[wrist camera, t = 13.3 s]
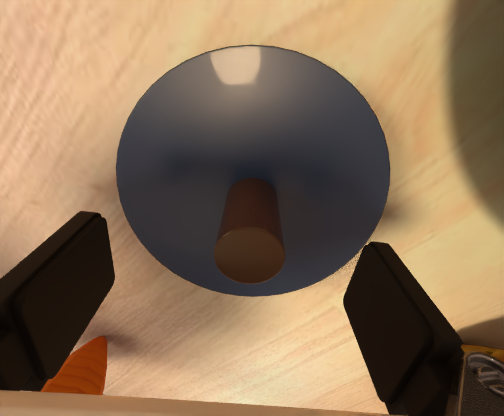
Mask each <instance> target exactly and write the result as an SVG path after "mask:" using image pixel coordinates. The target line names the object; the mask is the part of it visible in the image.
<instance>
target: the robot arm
mask: <svg viewBox="0 0 504 416" xmlns="http://www.w3.org/2000/svg"><path fill="white" fill-rule="evenodd" d="M114 280H115V273H114V266H113V260H112V253H111V247H110V240H109V234H108V227H107V221H106V219H105V218H103V217H102V216H101V214H100V213H95V212H86V211H80V212H78V213H77V214H76V215H75V216H74V217H73V218H71V219H70V220H69V221H68V222H67V223H65V224H64V225H63V226H62V227H61V228H60V229H58V230H57V231H56V232H55V233H54V234H53V235H51V236H50V237H49V238H48V239H47V240H46V241H44V242H43V243H42V244H41V245H40V246H39V247H37V248H36V249H35V250H34V251H33V252H32V253H30V254H29V255H28V256H27V257H26V258H25V259H23V260H22V261H21V262H20V263H19V264H17V265H16V266H15V267H14V268H13V269H12V270H10V271H9V272H8V273H7V274H6V275H5V276H3V277H2V278H1V279H0V416H400V415H404V416H407V415H408V416H504V363H503V362H501V361H500V360H498V359H497V358H495V357H493V356H491V355H488V354H486V353H483V352H479V351H468V352H466V353H465V352H464V351H463V349H462V348H461V345H462V344H463V343H464V342H463V341H462V339H461V338H460V337H459V335H458V334H457V333H456V331H455V330H454V329H453V327H452V326H451V325H450V323H449V322H448V321H447V320H446V318H445V317H444V316H443V314H442V313H441V312H440V310H439V309H438V308H437V306H436V305H435V304H434V303H433V301H432V300H431V299H430V297H429V296H428V295H427V293H426V292H425V291H424V289H423V288H422V287H421V285H420V284H419V283H418V282H417V280H416V279H415V278H414V276H413V275H412V274H411V272H410V271H409V270H408V268H407V267H406V266H405V265H404V263H403V262H402V261H401V259H400V258H399V257H398V255H397V254H396V253H395V251H394V250H393V249H392V247H391V246H390V245H389V244H387V243H380V242H370V243H369V244H368V245H365V246H364V248H363V250H362V252H361V255H360V257H359V260H358V262H357V265H356V267H355V270H354V272H353V275H352V277H351V280H350V282H349V285H348V287H347V290H346V292H345V295H344V298H343V304H344V308H345V311H346V313H347V316H348V319H349V321H350V324H351V326H352V329H353V332H354V334H355V337H356V340H357V342H358V345H359V347H360V350H361V353H362V355H363V358H364V361H365V363H366V366H367V368H368V371H369V374H370V376H371V379H372V382H373V384H374V387H375V389H376V392H377V395H378V397H379V399H380V400H381V401H382V402H385V405H386V407H387V410H388V412H389V414H377V413H363V412H349V411H335V410H321V409H307V408H293V407H279V406H264V405H249V404H234V403H218V402H203V401H188V400H172V399H156V398H139V397H123V396H106V395H90V394H73V393H52V392H41V390H42V389H43V387H44V385H45V384H46V382H47V381H48V379H53V378H54V377H55V376H56V375H57V373H58V372H59V370H60V369H61V367H62V366H63V364H64V362H65V361H66V359H67V358H68V356H69V354H70V353H71V351H72V350H73V348H74V346H75V345H76V343H77V342H78V340H79V338H80V337H81V335H82V334H83V332H84V331H85V329H86V327H87V326H88V324H89V323H90V321H91V319H92V318H93V316H94V315H95V313H96V311H97V310H98V308H99V307H100V305H101V303H102V302H103V300H104V299H105V297H106V296H107V294H108V292H109V291H110V289H111V288H112V286H113V284H114ZM20 390H23V391H20ZM27 391H28V392H27ZM29 391H38V392H29Z"/></svg>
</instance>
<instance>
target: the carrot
mask: <svg viewBox="0 0 504 416" xmlns="http://www.w3.org/2000/svg"><path fill="white" fill-rule="evenodd" d="M106 370H107V340H106V338H105V337H104V336H100V337H97V338H94V339H92V340H91V341H89V342H88V343H86V344H85V345H83V346H82V347H81V348H79V349H78V350H76V351H75V352H73V353H72V354H71V355H70V356H68V358H67V359H66V361H65V362H64V364H63V366H62V367H61V369H60V370H59V372H58V373H57V375H56V376H55V377H54V378H53V379H48V381H47V382H46V384H45V385H44V387H43V389H42V390H41V392H52V393H73V394H90V395H102V394H103V390H104V385H105V377H106ZM32 392H38V391H32Z"/></svg>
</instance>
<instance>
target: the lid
mask: <svg viewBox="0 0 504 416" xmlns="http://www.w3.org/2000/svg"><path fill="white" fill-rule="evenodd" d="M116 176H117V187H118V192H119V197H120V202H121V204H122V207H123V210H124V213H125V216H126V218H127V220H128V222H129V224H130V226H131V228H132V230H133V231H134V233H135V234H136V236H137V237H138V239H139V240H140V242H141V243H142V244H143V245H144V246H145V248H146V249H147V250H148V251H149V252H150V253H151V254H152V255H153V256H154V257H155V258H156V259H157V260H158V261H159V262H160V263H161V264H163V265H164V266H165V267H167V268H168V269H169V270H171V271H172V272H173V273H175V274H177V275H178V276H180V277H182V278H183V279H185V280H187V281H189V282H191V283H194V284H196V285H198V286H201V287H203V288H206V289H209V290H212V291H216V292H220V293H224V294H230V295H237V296H251V297H255V296H271V295H279V294H284V293H288V292H292V291H296V290H299V289H302V288H305V287H308V286H310V285H312V284H315V283H317V282H319V281H321V280H323V279H325V278H326V277H328V276H330V275H331V274H333V273H335V272H336V271H337V270H339V269H340V268H341V267H343V266H344V265H345V264H346V263H348V262H349V261H350V260H351V259H352V258H353V257H354V256H355V255H356V254H357V253H358V252H359V251H360V249H361V248H362V247H363V246H364V245H365V244H366V242H367V241H368V239H369V238H370V236H371V235H372V233H373V232H374V230H375V228H376V226H377V224H378V222H379V220H380V218H381V216H382V213H383V210H384V207H385V204H386V201H387V196H388V190H389V184H390V162H389V152H388V147H387V144H386V140H385V136H384V133H383V130H382V128H381V126H380V123H379V121H378V119H377V117H376V115H375V113H374V112H373V110H372V109H371V107H370V105H369V104H368V102H367V101H366V99H365V98H364V97H363V96H362V95H361V94H360V92H359V91H358V90H357V89H356V88H355V87H354V86H353V85H352V84H351V83H350V82H349V81H348V80H346V79H345V78H344V77H343V76H342V75H340V74H339V73H338V72H337V71H335V70H334V69H332V68H330V67H329V66H327V65H325V64H324V63H322V62H320V61H318V60H317V59H314V58H312V57H309V56H307V55H304V54H302V53H299V52H296V51H292V50H288V49H284V48H279V47H275V46H262V45H242V46H230V47H225V48H221V49H216V50H212V51H208V52H205V53H203V54H200V55H198V56H195V57H193V58H191V59H188V60H186V61H184V62H183V63H181V64H179V65H178V66H176V67H174V68H173V69H171V70H169V71H168V72H167V73H165V74H164V75H163V76H162V77H161V78H160V79H158V80H157V81H156V82H155V83H154V84H152V85H151V87H150V88H149V89H148V90H147V91H146V92H145V94H144V95H143V96H142V97H141V98H140V99H139V101H138V102H137V104H136V106H135V107H134V109H133V111H132V112H131V114H130V115H129V117H128V120H127V122H126V125H125V127H124V129H123V132H122V135H121V139H120V143H119V147H118V152H117V163H116Z"/></svg>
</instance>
